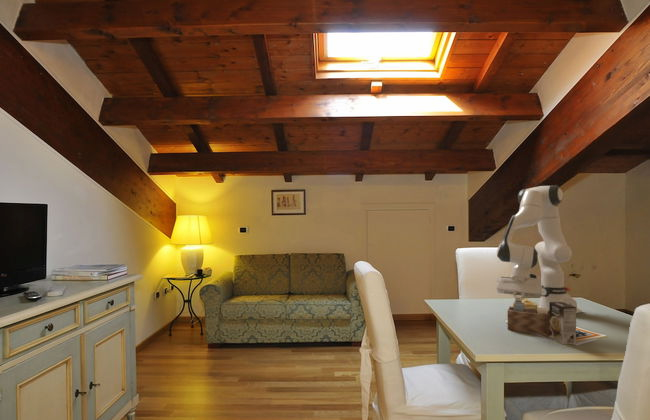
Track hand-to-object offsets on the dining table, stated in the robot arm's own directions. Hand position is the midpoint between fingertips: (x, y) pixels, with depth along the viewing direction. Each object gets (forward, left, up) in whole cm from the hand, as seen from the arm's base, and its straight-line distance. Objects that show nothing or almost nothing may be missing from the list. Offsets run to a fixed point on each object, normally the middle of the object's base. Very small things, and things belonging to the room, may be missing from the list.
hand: (518, 301), depth 191 cm
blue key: (0, 0, -4) cm, 4 cm away
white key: (-7, +7, -6) cm, 12 cm away
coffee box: (-5, +20, -13) cm, 25 cm away
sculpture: (-14, -12, -13) cm, 23 cm away
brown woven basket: (-4, +4, -13) cm, 14 cm away
